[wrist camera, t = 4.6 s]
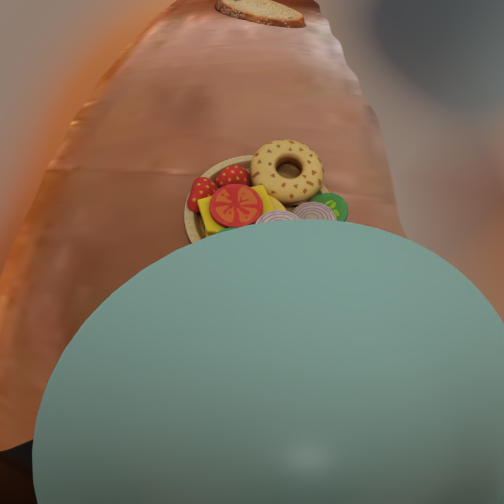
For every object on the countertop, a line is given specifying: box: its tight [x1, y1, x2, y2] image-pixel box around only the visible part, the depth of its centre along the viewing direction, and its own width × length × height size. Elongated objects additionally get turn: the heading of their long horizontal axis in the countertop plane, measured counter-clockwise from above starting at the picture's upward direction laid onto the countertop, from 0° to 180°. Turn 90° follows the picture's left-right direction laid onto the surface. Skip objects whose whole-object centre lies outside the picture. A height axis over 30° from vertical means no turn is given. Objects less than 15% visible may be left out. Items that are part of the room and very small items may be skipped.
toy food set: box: [184, 140, 348, 243], centre depth 25 cm, size 13×13×3 cm
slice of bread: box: [215, 0, 306, 28], centre depth 50 cm, size 18×18×4 cm
